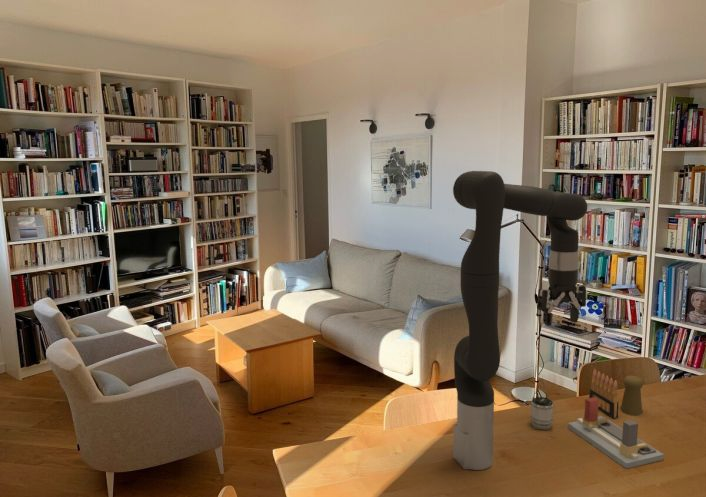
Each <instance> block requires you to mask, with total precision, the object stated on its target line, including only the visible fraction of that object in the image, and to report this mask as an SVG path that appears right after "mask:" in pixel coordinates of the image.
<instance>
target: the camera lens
mask: <svg viewBox="0 0 706 497" xmlns="http://www.w3.org/2000/svg"><path fill="white" fill-rule="evenodd" d="M554 406H555V405H554V402H553V401H552V400H551V399H549V398H547V397H543V396H538V397H534V398H532V399H531V401H530V423H531V425H532V427H534V428H535V429H539V430H550V429H551V428H552V426H553V423H554V422H553V421H554V409H555V407H554Z"/></svg>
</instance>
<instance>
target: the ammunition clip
mask: <svg viewBox="0 0 706 497" xmlns="http://www.w3.org/2000/svg"><path fill="white" fill-rule="evenodd" d="M591 378H592V380H591V386H590V389H589V397H588V398H595V399H597V400H599V403H598V412H601V413H602V414H604V415H605V416H607V417H609V418H610V419H612V420H614V419H618V418H619V401H618V397H619V396H618V394H619V393H618V392H619V391H618V380H617V379H615V380H614V379H613V377H611V378H609V375H606V376H605V374H604V372H603V373H602V374H601V372H600V370H598V371H597V370H596V368H594V369H593V372H592V377H591ZM613 380H614V381H613Z"/></svg>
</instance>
